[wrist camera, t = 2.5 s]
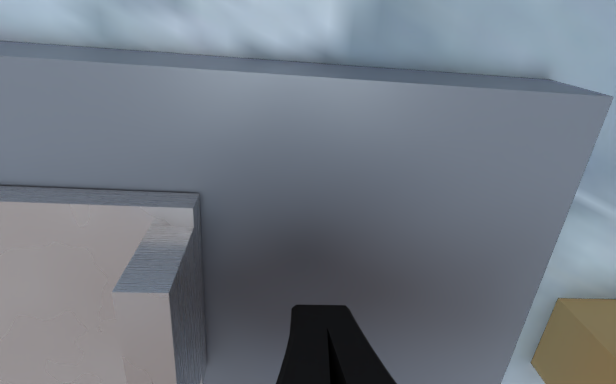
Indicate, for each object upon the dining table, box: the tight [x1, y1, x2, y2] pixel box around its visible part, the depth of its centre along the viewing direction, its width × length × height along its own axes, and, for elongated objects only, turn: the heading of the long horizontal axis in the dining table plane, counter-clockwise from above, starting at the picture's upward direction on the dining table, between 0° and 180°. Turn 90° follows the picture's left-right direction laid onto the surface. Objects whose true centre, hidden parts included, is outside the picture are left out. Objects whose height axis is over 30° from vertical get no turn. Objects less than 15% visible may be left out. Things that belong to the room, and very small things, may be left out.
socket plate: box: [0, 41, 613, 384], centre depth 13 cm, size 14×22×2 cm, turn 86°
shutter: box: [0, 186, 207, 384], centre depth 9 cm, size 6×6×3 cm
